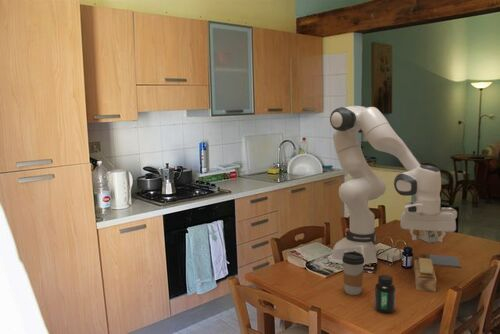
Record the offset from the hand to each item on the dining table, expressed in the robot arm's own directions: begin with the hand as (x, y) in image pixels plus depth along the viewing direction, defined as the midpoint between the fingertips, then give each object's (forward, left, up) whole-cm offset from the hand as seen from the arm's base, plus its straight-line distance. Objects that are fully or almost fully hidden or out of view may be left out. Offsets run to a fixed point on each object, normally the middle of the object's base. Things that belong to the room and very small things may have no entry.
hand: (427, 240), depth 168 cm
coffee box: (+5, +57, -18) cm, 60 cm away
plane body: (0, +3, -18) cm, 18 cm away
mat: (+10, +27, -18) cm, 34 cm away
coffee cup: (-27, -15, -18) cm, 36 cm away
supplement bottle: (-15, -26, -18) cm, 35 cm away
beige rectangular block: (0, 0, -13) cm, 13 cm away
